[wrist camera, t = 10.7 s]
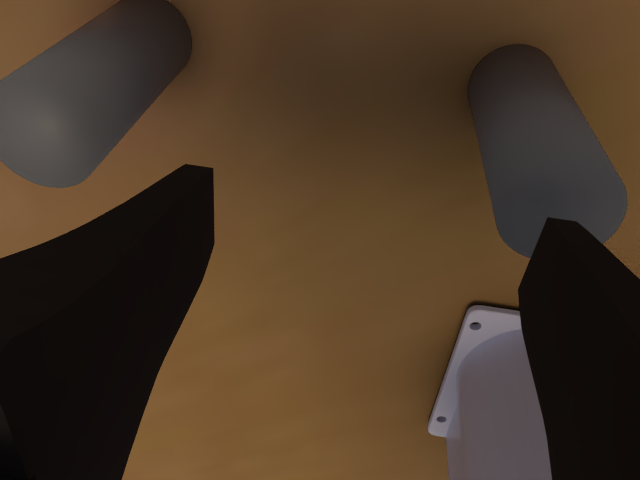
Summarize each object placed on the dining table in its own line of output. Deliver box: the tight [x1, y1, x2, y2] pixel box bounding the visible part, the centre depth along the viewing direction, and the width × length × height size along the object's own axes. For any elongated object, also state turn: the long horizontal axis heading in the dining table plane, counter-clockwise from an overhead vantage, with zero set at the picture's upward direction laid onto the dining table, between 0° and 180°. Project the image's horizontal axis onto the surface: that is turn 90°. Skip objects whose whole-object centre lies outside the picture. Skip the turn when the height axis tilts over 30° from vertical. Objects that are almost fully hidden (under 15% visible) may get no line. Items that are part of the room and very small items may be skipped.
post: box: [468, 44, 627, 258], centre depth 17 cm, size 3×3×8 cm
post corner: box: [0, 0, 192, 188], centre depth 18 cm, size 3×3×8 cm
